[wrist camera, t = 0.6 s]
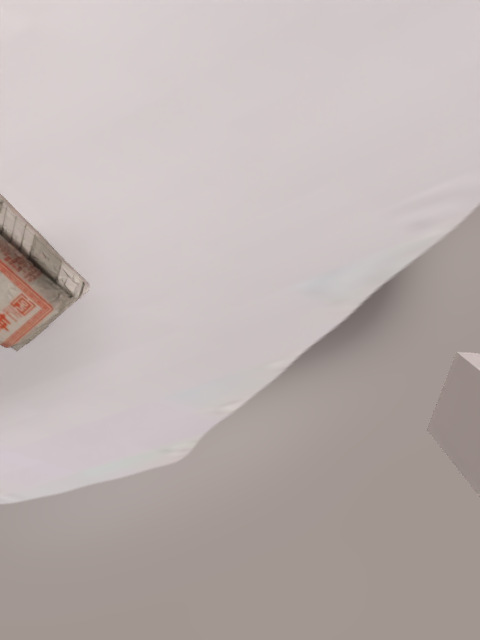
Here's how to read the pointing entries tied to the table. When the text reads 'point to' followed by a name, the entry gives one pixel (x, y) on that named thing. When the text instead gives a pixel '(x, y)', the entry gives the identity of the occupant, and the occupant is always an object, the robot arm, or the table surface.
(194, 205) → the table surface
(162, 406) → the table surface
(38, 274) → the packaged product
